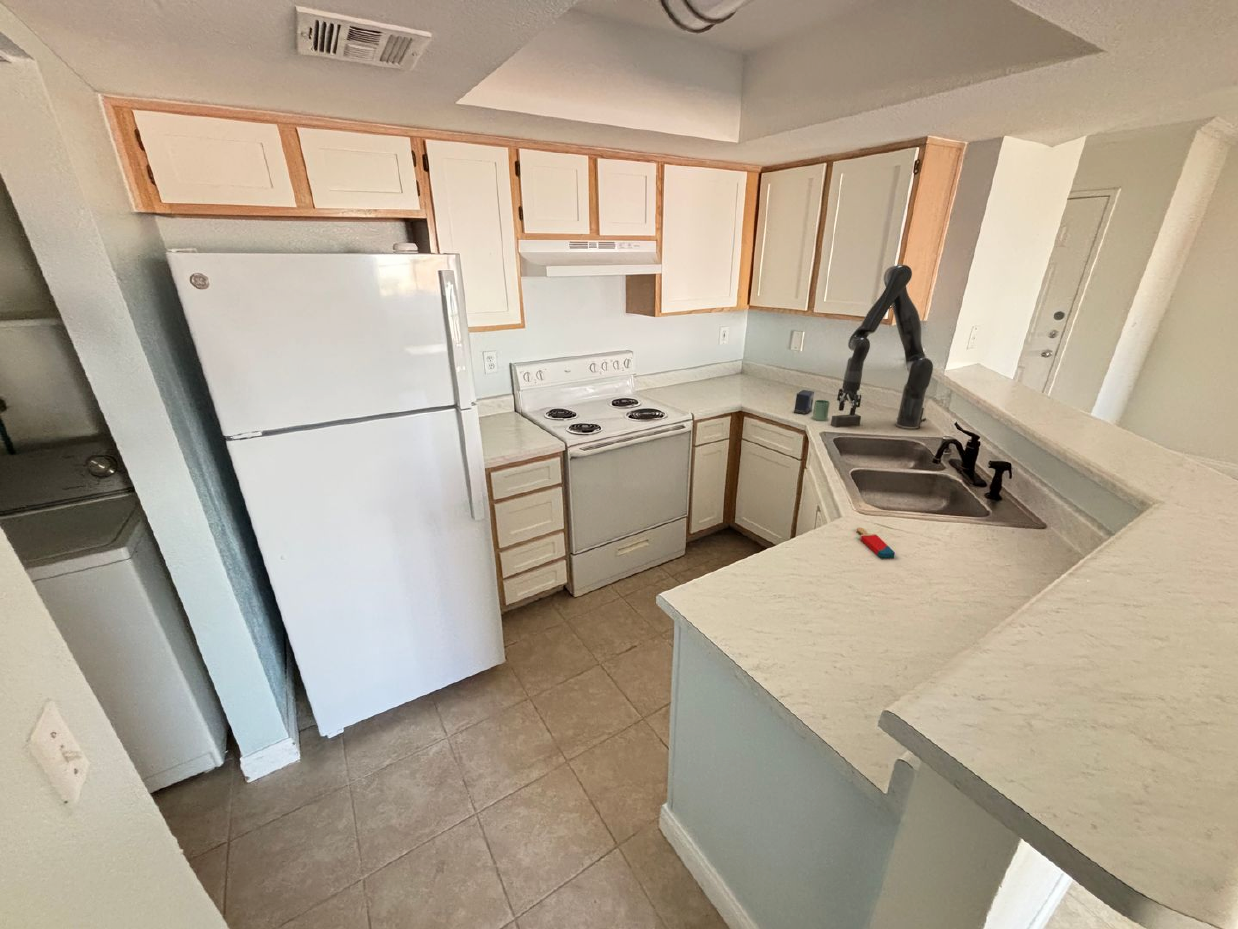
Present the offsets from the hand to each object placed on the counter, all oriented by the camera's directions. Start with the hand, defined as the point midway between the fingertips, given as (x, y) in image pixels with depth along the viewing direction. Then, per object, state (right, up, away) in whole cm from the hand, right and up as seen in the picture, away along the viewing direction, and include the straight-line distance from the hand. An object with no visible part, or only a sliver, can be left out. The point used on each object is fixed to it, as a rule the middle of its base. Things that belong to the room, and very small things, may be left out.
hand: (846, 412), depth 241 cm
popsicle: (-38, -47, -100) cm, 118 cm away
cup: (-8, -2, +12) cm, 14 cm away
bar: (0, -6, +2) cm, 6 cm away
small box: (-12, +3, +24) cm, 27 cm away
